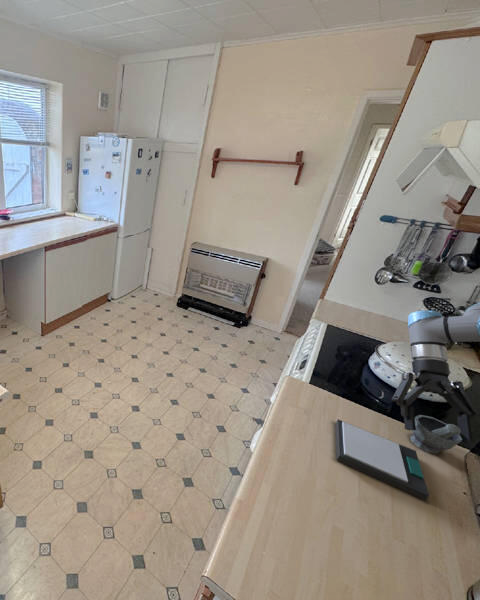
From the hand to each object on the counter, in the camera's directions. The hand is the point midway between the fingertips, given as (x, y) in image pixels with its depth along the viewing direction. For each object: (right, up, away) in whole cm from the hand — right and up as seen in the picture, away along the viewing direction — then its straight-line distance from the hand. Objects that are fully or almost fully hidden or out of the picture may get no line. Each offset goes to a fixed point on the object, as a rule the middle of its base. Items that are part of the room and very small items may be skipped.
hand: (438, 435), depth 90 cm
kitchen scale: (-19, -6, -2) cm, 20 cm away
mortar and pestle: (0, -5, +3) cm, 6 cm away
